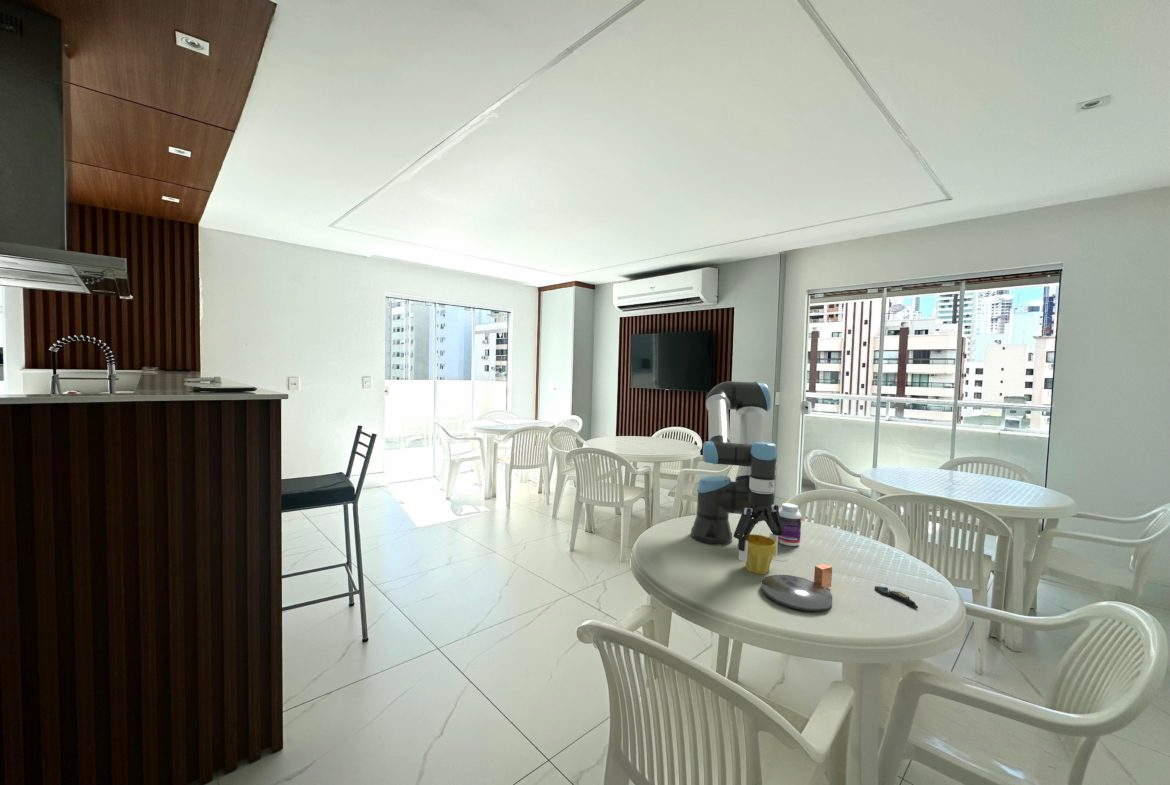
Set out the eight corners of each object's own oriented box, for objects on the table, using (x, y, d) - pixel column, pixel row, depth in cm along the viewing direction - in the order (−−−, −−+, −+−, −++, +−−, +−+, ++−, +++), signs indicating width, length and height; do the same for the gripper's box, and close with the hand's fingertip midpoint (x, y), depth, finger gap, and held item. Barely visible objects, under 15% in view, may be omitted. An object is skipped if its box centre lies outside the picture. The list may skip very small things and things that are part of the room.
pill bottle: (804, 547, 163) (806, 508, 163) (781, 546, 164) (784, 508, 163) (793, 539, 172) (796, 502, 171) (772, 538, 172) (775, 501, 171)
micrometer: (872, 584, 133) (888, 584, 133) (872, 590, 133) (888, 590, 133) (904, 603, 121) (921, 603, 122) (903, 610, 121) (921, 610, 122)
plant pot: (778, 578, 137) (779, 547, 137) (742, 574, 139) (744, 543, 139) (771, 565, 147) (772, 535, 147) (738, 561, 149) (739, 532, 149)
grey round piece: (747, 586, 130) (748, 565, 130) (800, 572, 141) (801, 553, 140) (803, 617, 114) (804, 594, 114) (857, 599, 125) (859, 578, 124)
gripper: (742, 497, 133) (738, 568, 133) (798, 491, 144) (794, 556, 145) (723, 491, 139) (720, 558, 140) (778, 485, 151) (775, 548, 152)
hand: (758, 557), depth 142 cm, fingers open, 13 cm apart
